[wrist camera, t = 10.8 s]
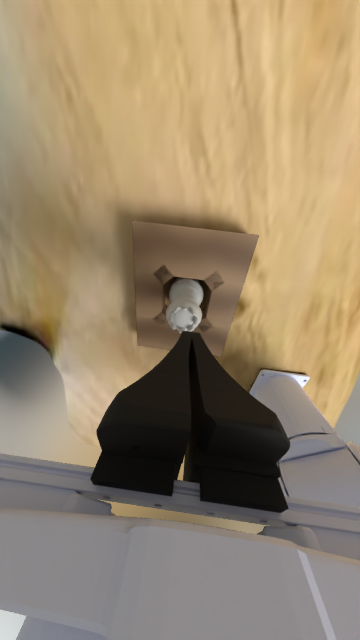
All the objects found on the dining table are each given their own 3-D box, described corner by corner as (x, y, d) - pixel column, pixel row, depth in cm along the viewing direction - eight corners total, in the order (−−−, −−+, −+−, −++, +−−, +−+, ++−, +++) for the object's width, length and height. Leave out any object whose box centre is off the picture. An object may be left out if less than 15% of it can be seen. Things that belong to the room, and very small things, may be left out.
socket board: (218, 345, 23) (220, 356, 21) (142, 335, 23) (137, 345, 21) (249, 236, 16) (259, 235, 14) (140, 223, 16) (132, 220, 14)
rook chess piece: (174, 269, 18) (163, 288, 11) (208, 280, 18) (218, 305, 11) (166, 302, 20) (152, 334, 13) (196, 311, 21) (199, 347, 14)
